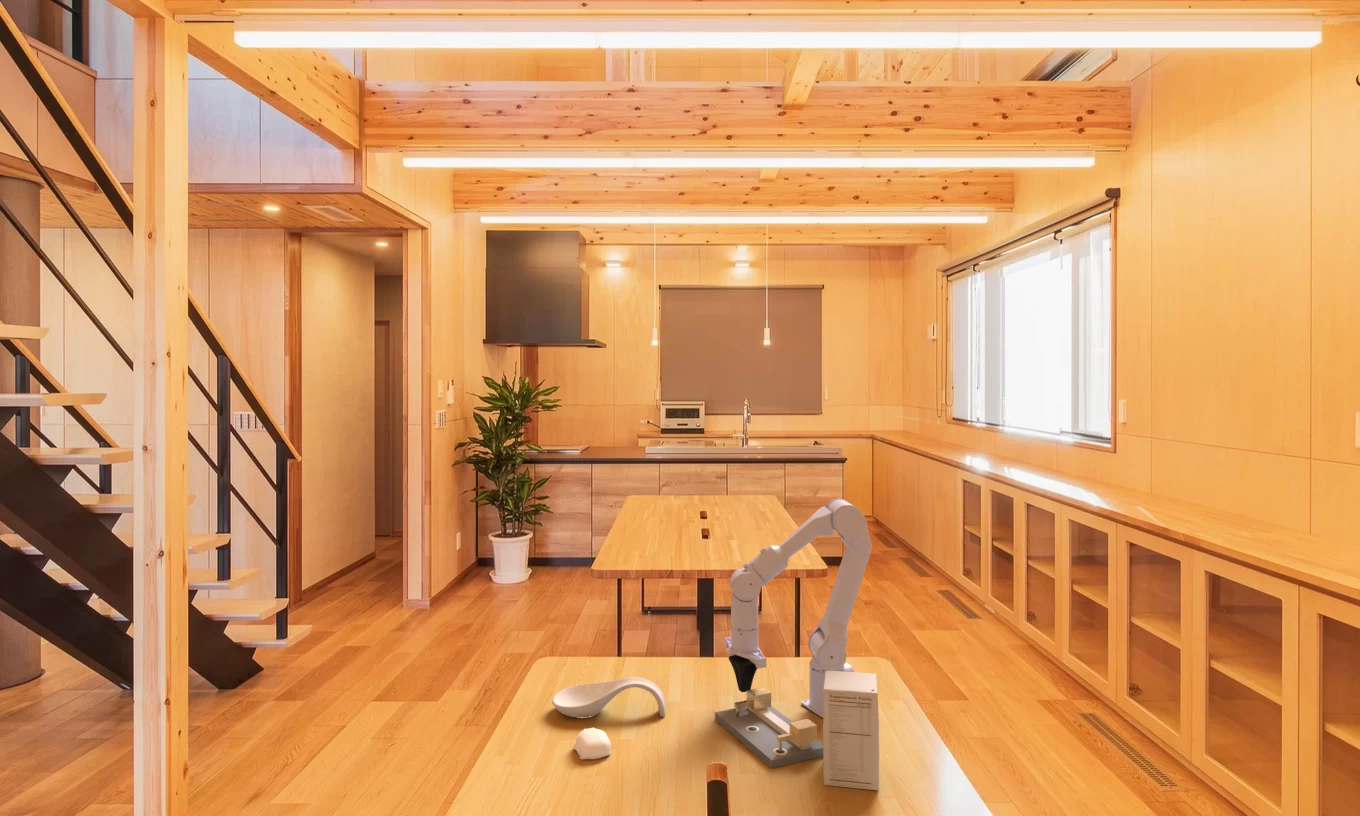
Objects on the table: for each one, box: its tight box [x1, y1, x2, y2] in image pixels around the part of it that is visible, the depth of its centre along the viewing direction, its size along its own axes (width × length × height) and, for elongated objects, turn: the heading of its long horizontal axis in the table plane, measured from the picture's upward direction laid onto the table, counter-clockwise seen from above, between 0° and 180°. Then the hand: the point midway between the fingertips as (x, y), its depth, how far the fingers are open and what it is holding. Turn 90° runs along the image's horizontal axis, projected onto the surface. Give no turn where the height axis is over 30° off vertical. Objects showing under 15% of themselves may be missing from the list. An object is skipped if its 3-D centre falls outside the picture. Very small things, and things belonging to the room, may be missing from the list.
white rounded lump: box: [572, 726, 612, 760], centre depth 142 cm, size 8×7×4 cm
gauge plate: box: [714, 705, 823, 769], centre depth 148 cm, size 12×22×6 cm, turn 25°
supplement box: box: [822, 670, 880, 791], centre depth 133 cm, size 10×9×17 cm
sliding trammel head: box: [734, 687, 772, 717], centre depth 154 cm, size 8×3×4 cm, turn 115°
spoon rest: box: [551, 676, 667, 719], centre depth 159 cm, size 24×12×7 cm, turn 89°
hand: (744, 690), depth 160 cm, fingers closed
